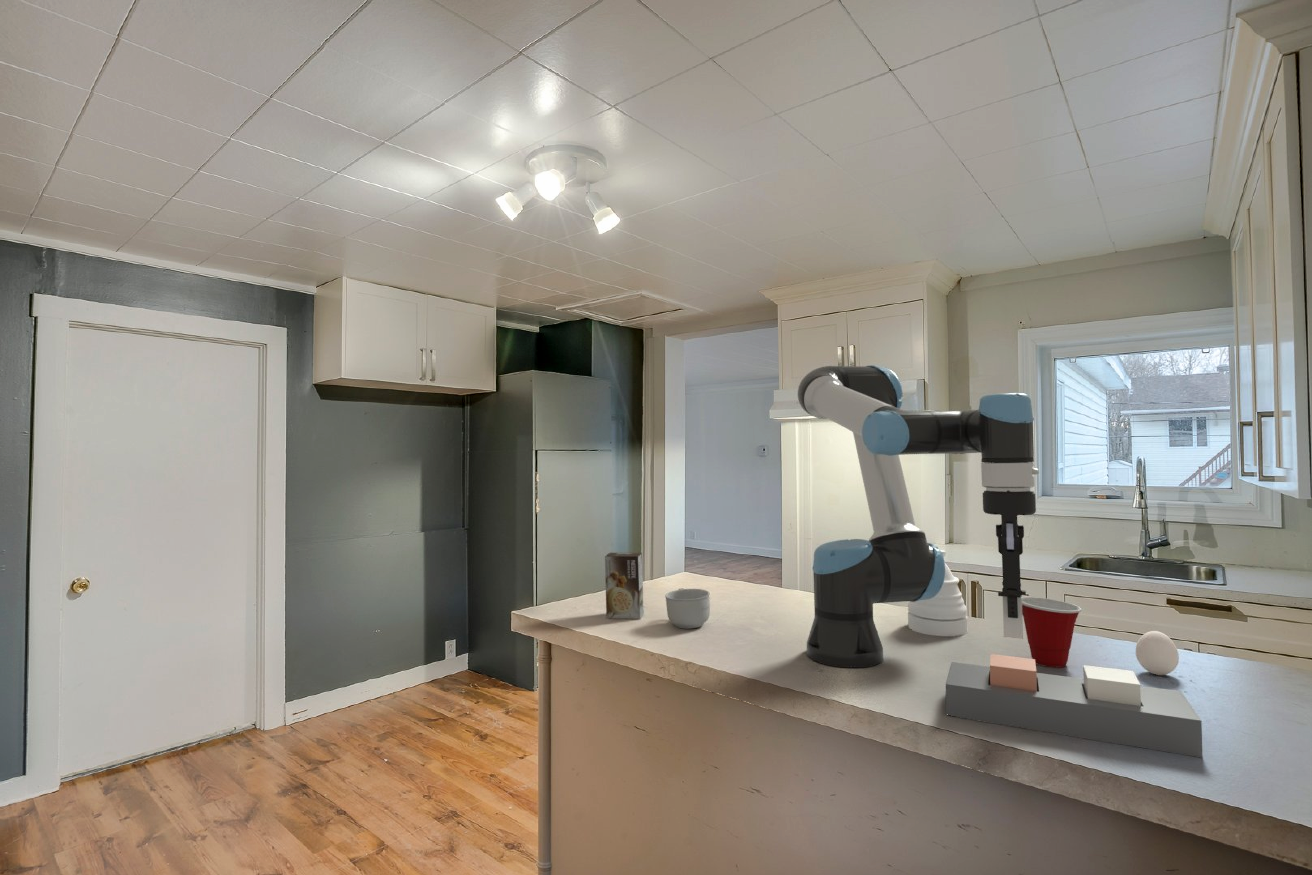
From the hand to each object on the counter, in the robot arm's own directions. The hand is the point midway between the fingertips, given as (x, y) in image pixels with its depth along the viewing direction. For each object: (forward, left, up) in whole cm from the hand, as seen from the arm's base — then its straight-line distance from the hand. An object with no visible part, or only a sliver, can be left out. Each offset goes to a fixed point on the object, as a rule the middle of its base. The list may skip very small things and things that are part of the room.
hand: (1013, 636), depth 105 cm
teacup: (-71, +26, -13) cm, 76 cm away
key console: (+6, 0, -12) cm, 14 cm away
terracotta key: (0, 0, -8) cm, 8 cm away
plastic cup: (+6, +30, -12) cm, 33 cm away
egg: (+23, +31, -12) cm, 41 cm away
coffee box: (-89, +26, -12) cm, 93 cm away
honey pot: (-16, +47, -13) cm, 51 cm away
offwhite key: (+13, 0, -8) cm, 15 cm away
